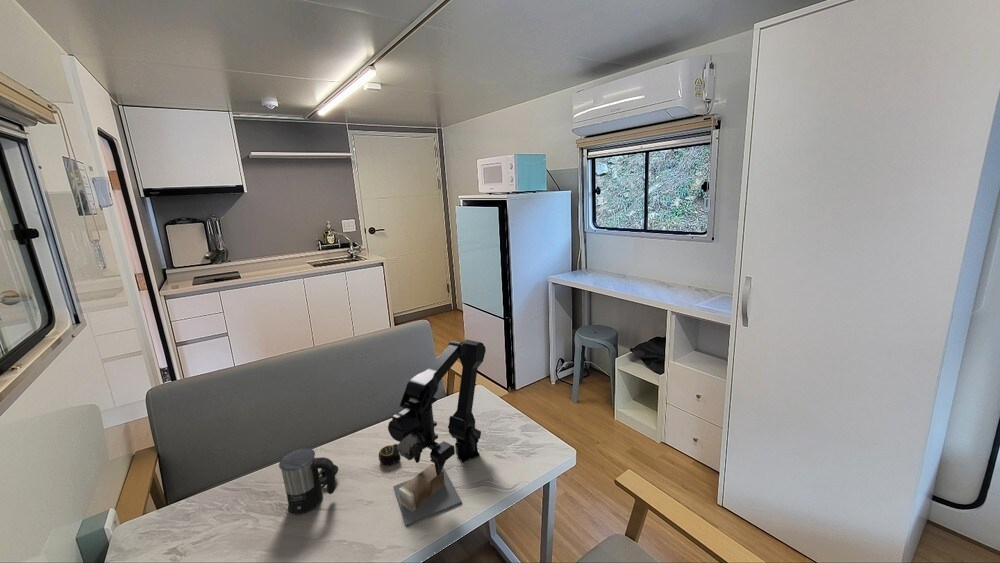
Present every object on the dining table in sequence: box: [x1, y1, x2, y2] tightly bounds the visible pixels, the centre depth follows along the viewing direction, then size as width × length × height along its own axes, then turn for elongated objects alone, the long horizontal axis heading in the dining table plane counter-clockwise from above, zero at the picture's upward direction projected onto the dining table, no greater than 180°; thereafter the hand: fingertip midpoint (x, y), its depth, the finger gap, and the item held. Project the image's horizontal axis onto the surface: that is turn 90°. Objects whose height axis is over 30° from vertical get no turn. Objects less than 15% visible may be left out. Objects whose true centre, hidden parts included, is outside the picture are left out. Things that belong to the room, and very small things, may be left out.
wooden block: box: [399, 463, 445, 512], centre depth 111 cm, size 5×5×12 cm
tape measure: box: [378, 443, 401, 466], centre depth 128 cm, size 7×7×4 cm
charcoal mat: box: [392, 467, 463, 527], centre depth 112 cm, size 16×16×1 cm
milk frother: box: [278, 448, 339, 515], centre depth 114 cm, size 14×16×15 cm
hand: (428, 468), depth 112 cm, fingers open, 9 cm apart
